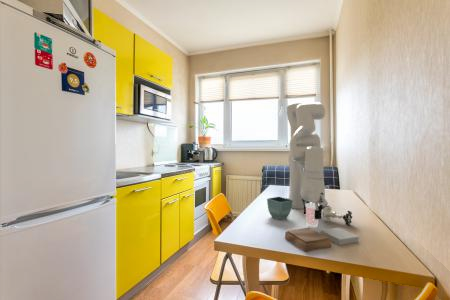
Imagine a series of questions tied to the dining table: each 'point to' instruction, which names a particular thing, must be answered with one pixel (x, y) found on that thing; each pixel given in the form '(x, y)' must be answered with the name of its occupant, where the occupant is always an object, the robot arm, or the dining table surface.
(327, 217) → the valve
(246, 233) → the dining table surface
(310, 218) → the beverage cup
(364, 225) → the dining table surface
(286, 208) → the flower pot
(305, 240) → the walnut stand
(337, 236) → the grey stand
